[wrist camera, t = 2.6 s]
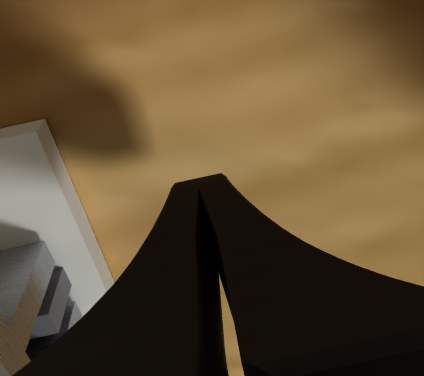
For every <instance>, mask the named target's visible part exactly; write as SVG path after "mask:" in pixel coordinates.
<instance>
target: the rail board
mask: <svg viewBox="0 0 424 376" xmlns="http://www.w3.org/2000/svg"><path fill="white" fill-rule="evenodd" d="M40 241H45V243H46V245H47V247H48V249H49V251H50V253H51V255H52V257H53V259H54V261H55V266H54V269H53V272H52V275H51V278H50V281H49V284H48V287H47V290H46V292H45V295H44V298H43V301H42V304H41V307H40V310H39V313H38V316H37V319H36V322H35V325H34V328H33V330H32V333H31V336H30V339H33V338H38V337H42V336H47V335H51V334H56V333H59V330H60V327H61V323H62V319H63V316H64V312H65V308H66V305H67V302H72V301H75V302H76V304H77V306H78V308H79V310H80V312H81V314H82V316H84V315H85V314H86V313H87V312H88V311H89V310H90V309H91V308H92V307H93V305H94V304H95V303H96V302H97V301H98V300H99V299H100V298H101V297H102V296H103V295H104V294H105V293H106V292H107V291H108V290H109V289H110V287H111V286H112V285H113V284H114V281H113V278H112V276H111V273H110V271H109V269H108V266H107V264H106V262H105V259H104V257H103V255H102V252H101V250H100V247H99V245H98V243H97V240H96V238H95V236H94V233H93V231H92V229H91V226H90V224H89V222H88V219H87V217H86V214H85V212H84V210H83V207H82V205H81V203H80V200H79V198H78V196H77V193H76V191H75V189H74V186H73V184H72V181H71V179H70V177H69V174H68V172H67V170H66V167H65V165H64V163H63V160H62V158H61V155H60V153H59V151H58V148H57V146H56V144H55V141H54V139H53V137H52V134H51V132H50V130H49V127H48V125H47V122H46V120H45V119H41V120H37V121H32V122H28V123H23V124H19V125H14V126H9V127H5V128H0V250H4V249H9V248H13V247H18V246H22V245H27V244H31V243H36V242H40Z"/></svg>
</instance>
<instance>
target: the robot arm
mask: <svg viewBox="0 0 424 376" xmlns="http://www.w3.org/2000/svg"><path fill="white" fill-rule="evenodd" d="M219 275H220V278H221V282H222V285H223V288H224V291H225V295H226V298H227V301H228V304H229V307H230V311H231V314H232V317H233V320H234V324H235V330H236V335H237V341H238V346H239V351H240V357H241V362H242V367H243V371H244V375H245V376H424V287H423V286H420V285H416V284H412V283H409V282H405V281H402V280H398V279H394V278H391V277H388V276H385V275H382V274H379V273H376V272H373V271H371V270H368V269H365V268H362V267H359V266H357V265H354V264H352V263H349V262H347V261H344V260H342V259H339V258H337V257H335V256H333V255H331V254H328V253H326V252H324V251H322V250H320V249H318V248H316V247H314V246H312V245H310V244H308V243H306V242H304V241H302V240H301V239H299V238H297V237H296V236H294V235H292V234H291V233H289V232H288V231H286V230H285V229H283V228H282V227H280V226H279V225H278V224H276V223H275V222H274V221H272V220H271V219H269V218H268V217H267V216H266V215H264V214H263V213H262V212H261V211H259V210H258V209H257V208H256V207H255V206H254V205H252V204H251V203H250V202H249V201H248V200H247V199H246V198H245V197H244V196H243V195H242V194H241V193H240V192H239V191H238V190H237V189H236V188H235V187H234V186H233V185H232V184H231V183H230V181H229V180H228V179H227V177H226V176H225V175H223V174H222V173H219V174H215V175H210V176H206V177H201V178H197V179H192V180H187V181H183V182H178V183H175V184H174V185H173V187H172V188H171V191H170V193H169V196H168V198H167V200H166V202H165V205H164V207H163V209H162V211H161V213H160V215H159V217H158V219H157V221H156V222H155V224H154V226H153V228H152V230H151V232H150V233H149V235H148V237H147V238H146V240H145V241H144V243H143V245H142V246H141V248H140V249H139V251H138V253H137V254H136V256H135V257H134V258H133V260H132V261H131V263H130V264H129V265H128V267H127V268H126V269H125V271H124V272H123V273H122V275H121V276H120V277H119V278H118V280H117V281H116V282H115V283H114V284H113V285H112V286H111V287H110V289H109V290H108V291H107V292H106V293H105V294H104V295H103V296H102V297H101V298H100V299H99V300H98V301H97V302H96V303H95V304H94V305H93V307H92V308H91V309H90V310H89V311H88V312H87V313H86V314H85V315H84V316H83V317H82V318H81V319H79V320H78V321H77V322H76V323H75V324H74V325H73V326H72V327H71V328H70V329H69V330H68V331H66V332H65V333H64V334H63V335H62V336H61V337H60V338H58V339H57V340H56V341H55V342H54V343H53V344H52V345H50V346H49V347H48V348H47V349H46V350H44V351H43V352H42V353H41V354H39V355H38V356H37V357H36V358H34V359H33V360H32V361H30V362H29V363H28V364H27V365H25V366H24V367H23V368H21V369H20V370H19V371H17V372H16V373H15V374H13V375H12V376H229V375H228V369H227V363H226V355H225V346H224V334H223V321H222V308H221V296H220V283H219Z"/></svg>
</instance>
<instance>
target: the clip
mask: <svg viewBox="0 0 424 376" xmlns="http://www.w3.org/2000/svg"><path fill="white" fill-rule="evenodd" d="M54 266H55V261H54V259H53V257H52V255H51V253H50V251H49V249H48V247H47V245H46V243H45V241H40V242H36V243H31V244H27V245H22V246H18V247H13V248H9V249H4V250H0V376H12V375H13V374H15V373H16V372H17V371H19V370H20V369H21V368H23V367H24V366H25V365H27V364H28V363H29V362H30V361H32V360H33V359H34V358H36V357H37V356H38V355H39V354H41V353H42V352H43V351H44V350H46V349H47V348H48V347H49V346H50V345H52V344H53V343H54V342H55V341H56V340H57V339H58V338H60V337H61V336H62V335H63V334H64V333H65V332H66V331H68V330H69V329H70V328H71V327H72V326H73V325H74V324H75V323H76V322H77V321H78V320H79V319H81V318H82V317H83V316H82V314H81V312H80V310H79V308H78V306H77V304H76V302H75V301H72V302H67V305H66V308H65V312H64V316H63V319H62V323H61V327H60V330H59V333H56V334H51V335H47V336H42V337H38V338H33V339H30V336H31V333H32V330H33V328H34V325H35V322H36V319H37V316H38V313H39V310H40V307H41V304H42V301H43V298H44V295H45V292H46V290H47V287H48V284H49V281H50V278H51V275H52V272H53V269H54Z"/></svg>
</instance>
